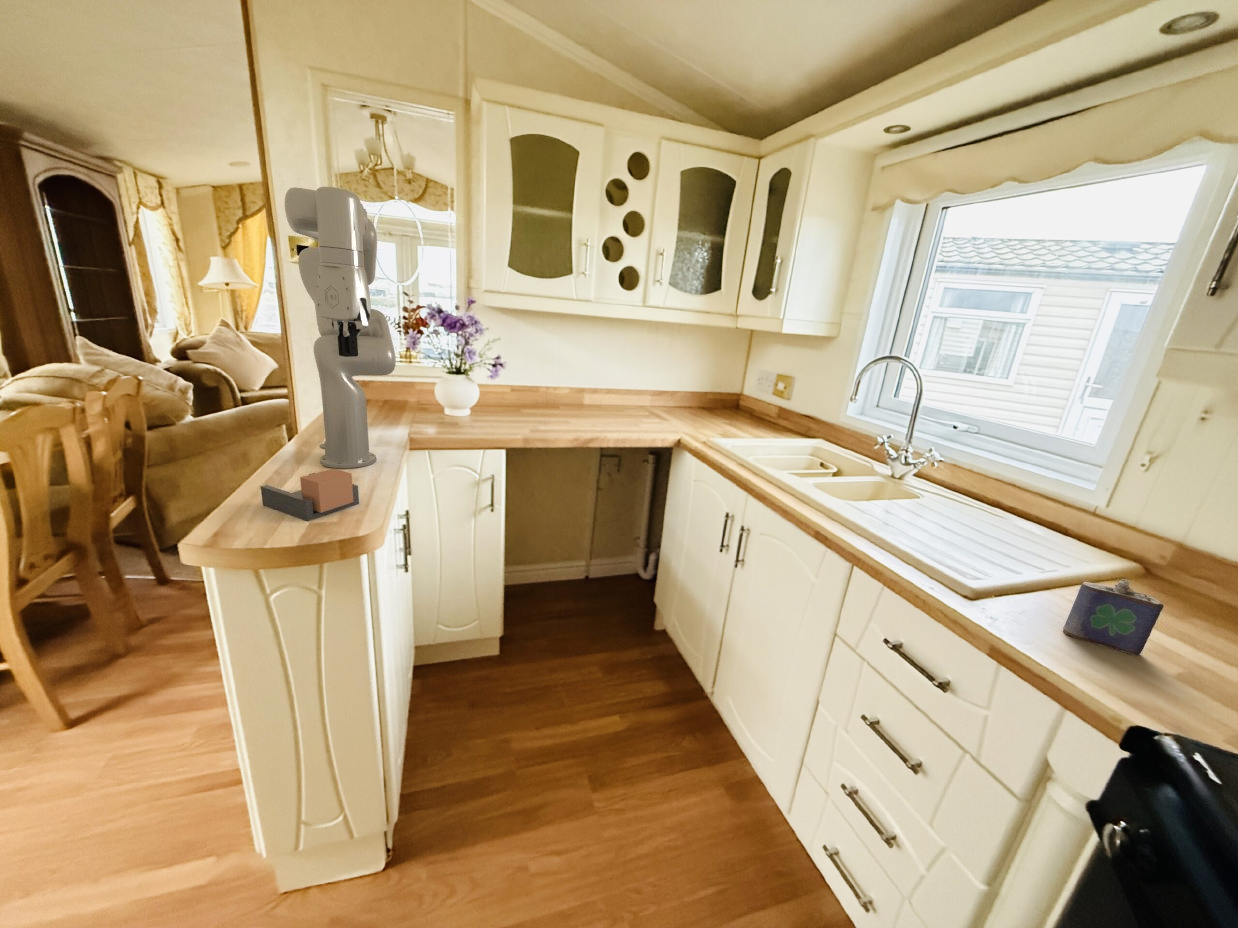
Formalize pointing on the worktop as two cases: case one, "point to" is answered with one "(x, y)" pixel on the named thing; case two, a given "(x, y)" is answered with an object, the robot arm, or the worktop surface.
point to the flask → (1113, 617)
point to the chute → (298, 502)
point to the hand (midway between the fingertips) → (348, 356)
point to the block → (328, 489)
